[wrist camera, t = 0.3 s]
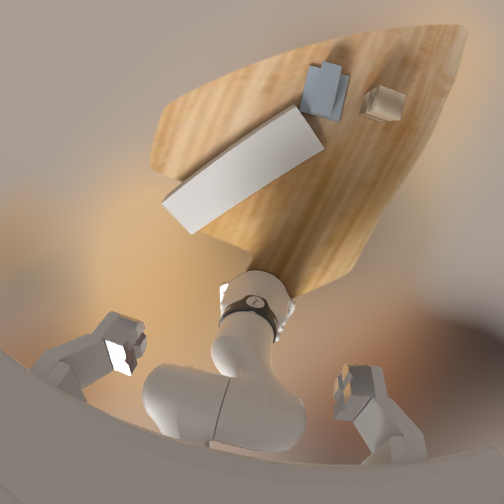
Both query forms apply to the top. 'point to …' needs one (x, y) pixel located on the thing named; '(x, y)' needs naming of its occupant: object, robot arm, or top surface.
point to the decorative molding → (243, 169)
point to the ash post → (382, 104)
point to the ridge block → (324, 91)
